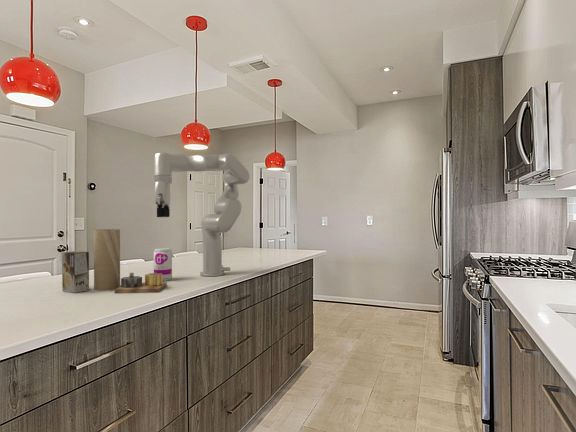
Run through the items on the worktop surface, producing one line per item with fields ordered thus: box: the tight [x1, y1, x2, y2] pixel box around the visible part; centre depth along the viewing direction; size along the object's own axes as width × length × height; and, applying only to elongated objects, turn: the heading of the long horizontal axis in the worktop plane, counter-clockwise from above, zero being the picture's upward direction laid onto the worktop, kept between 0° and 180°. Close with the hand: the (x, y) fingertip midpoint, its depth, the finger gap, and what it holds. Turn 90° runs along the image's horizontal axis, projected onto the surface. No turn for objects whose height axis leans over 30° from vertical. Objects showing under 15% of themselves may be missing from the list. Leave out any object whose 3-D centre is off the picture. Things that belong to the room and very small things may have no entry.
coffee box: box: [61, 250, 90, 294], centre depth 148 cm, size 9×6×16 cm
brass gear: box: [144, 272, 163, 287], centre depth 152 cm, size 7×7×4 cm
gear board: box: [113, 272, 167, 294], centre depth 151 cm, size 17×14×7 cm
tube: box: [93, 228, 121, 291], centre depth 153 cm, size 10×10×25 cm
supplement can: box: [153, 247, 173, 282], centre depth 172 cm, size 8×8×15 cm
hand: (163, 217), depth 165 cm, fingers open, 9 cm apart
